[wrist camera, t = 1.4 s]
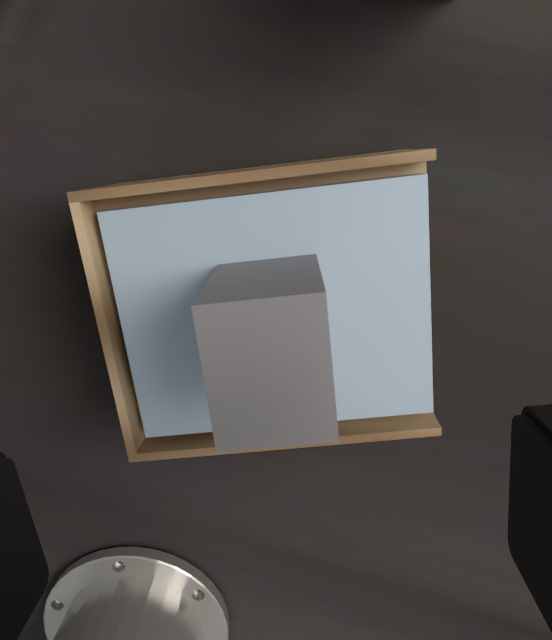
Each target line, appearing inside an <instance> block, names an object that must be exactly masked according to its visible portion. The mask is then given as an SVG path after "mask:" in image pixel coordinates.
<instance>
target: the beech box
mask: <svg viewBox="0 0 552 640" xmlns="http://www.w3.org/2000/svg"><path fill="white" fill-rule="evenodd" d="M430 160H436V148H435V149H408V150H391V151H383V152H375V153H366V154H358V155H350V156H341V157H333V158H325V159H316V160H308V161H299V162H291V163H283V164H274V165H266V166H258V167H249V168H241V169H233V170H224V171H216V172H207V173H199V174H191V175H182V176H174V177H166V178H157V179H149V180H141V181H132V182H125V183H119V184H113V185H107V186H101V187H96V188H90V189H84V190H78V191H72V192H67V197H68V201H69V205H70V210H71V214H72V218H73V223H74V227H75V231H76V236H77V240H78V244H79V248H80V253H81V257H82V261H83V266H84V270H85V274H86V279H87V283H88V287H89V291H90V296H91V300H92V304H93V309H94V313H95V317H96V321H97V326H98V330H99V334H100V339H101V343H102V347H103V352H104V356H105V360H106V364H107V369H108V373H109V377H110V382H111V386H112V390H113V395H114V399H115V403H116V407H117V412H118V416H119V420H120V425H121V429H122V433H123V438H124V442H125V446H126V450H127V455H128V459H129V462H140V461H152V460H164V459H175V458H187V457H199V456H210V455H222V454H234V453H245V452H257V451H269V450H280V449H292V448H304V447H315V446H327V445H339V444H350V443H362V442H373V441H385V440H397V439H408V438H420V437H432V436H442V435H441V426H440V424H439V422H438V421H437V419H436V417H435V415H434V413H433V412H431V413H419V414H408V415H397V416H386V417H374V418H363V419H352V420H340V421H337V422H338V434H339V442H334V443H322V444H310V445H299V446H287V447H275V448H264V449H252V450H241V451H229V452H217V453H216V448H215V443H214V437H213V432H205V433H194V434H182V435H171V436H160V437H149V438H146V437H145V432H144V428H143V423H142V419H141V414H140V409H139V405H138V400H137V396H136V391H135V386H134V382H133V377H132V373H131V368H130V363H129V359H128V354H127V350H126V345H125V340H124V336H123V331H122V327H121V322H120V318H119V313H118V308H117V304H116V299H115V295H114V290H113V285H112V281H111V276H110V272H109V267H108V262H107V258H106V253H105V249H104V244H103V239H102V235H101V230H100V226H99V221H98V216H97V212H100V211H103V210H108V209H117V208H125V207H134V206H142V205H151V204H160V203H168V202H177V201H185V200H194V199H202V198H211V197H220V196H228V195H237V194H245V193H254V192H263V191H271V190H280V189H288V188H297V187H305V186H314V185H323V184H331V183H340V182H348V181H357V180H365V179H374V178H383V177H391V176H400V175H408V174H417V173H425V174H426V161H430Z"/></svg>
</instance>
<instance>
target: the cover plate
mask: <svg viewBox="0 0 552 640" xmlns="http://www.w3.org/2000/svg"><path fill="white" fill-rule="evenodd" d="M97 216H98V221H99V226H100V230H101V235H102V239H103V244H104V249H105V253H106V258H107V262H108V267H109V272H110V276H111V281H112V285H113V290H114V295H115V299H116V304H117V308H118V313H119V318H120V322H121V327H122V331H123V336H124V340H125V345H126V350H127V354H128V359H129V363H130V368H131V373H132V377H133V382H134V386H135V391H136V396H137V400H138V405H139V409H140V414H141V419H142V423H143V428H144V432H145V437H146V438H149V437H160V436H171V435H182V434H194V433H205V432H213V437H214V443H215V448H216V453H217V452H229V451H241V450H252V449H264V448H275V447H287V446H299V445H310V444H322V443H334V442H339V434H338V422H337V421H340V420H352V419H363V418H374V417H386V416H397V415H408V414H419V413H431V412H433V374H432V332H431V291H430V249H429V207H428V174H425V173H417V174H408V175H400V176H391V177H383V178H374V179H365V180H357V181H348V182H340V183H331V184H323V185H314V186H305V187H297V188H288V189H280V190H271V191H263V192H254V193H245V194H237V195H228V196H220V197H211V198H202V199H194V200H185V201H177V202H168V203H160V204H151V205H142V206H134V207H125V208H117V209H108V210H103V211H100V212H97Z"/></svg>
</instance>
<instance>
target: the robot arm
mask: <svg viewBox="0 0 552 640" xmlns="http://www.w3.org/2000/svg"><path fill="white" fill-rule="evenodd" d="M508 544H509V549H510V552H511V555H512V558H513V560H514V562H515V564H516V566H517V567H518V569H519V571H520V573H521V575H522V577H523V579H524V581H525V583H526V585H527V586H528V588H529V590H530V592H531V594H532V596H533V598H534V600H535V602H536V604H537V605H538V607H539V609H540V611H541V613H542V615H543V617H544V619H545V621H546V623H547V624H548V626H549V628H550V630H551V632H552V404H549V405H537V406H525V407H524V408H523V410H522V413H521V415H515V416H514V417H513V419H512V431H511V459H510V486H509V514H508ZM48 576H49V571H48V566H47V562H46V559H45V556H44V553H43V550H42V547H41V544H40V541H39V538H38V535H37V532H36V529H35V526H34V523H33V519H32V516H31V513H30V510H29V507H28V504H27V501H26V498H25V495H24V492H23V489H22V486H21V483H20V479H19V476H18V473H17V470H16V467H15V464H14V462H13V461H12V460H11V459H10V458H8V457H7V458H6V456H5V455H4V454H3V453H2V452H0V640H17V638H18V637H19V635H20V633H21V631H22V630H23V628H24V626H25V624H26V622H27V621H28V619H29V617H30V615H31V613H32V612H33V610H34V608H35V606H36V604H37V603H38V601H39V599H40V597H41V596H42V594H43V592H44V590H45V588H46V586H47V582H48ZM43 621H44V631H45V634H46V637H47V640H228V636H229V624H230V621H229V615H228V610H227V606H226V604H225V602H224V600H223V597H222V595H221V593H220V592H219V591H218V589H217V588H216V586H215V585H214V584H213V582H212V581H211V580H210V579H209V578H208V577H207V576H206V575H204V574H203V573H202V572H201V571H200V570H199V569H197V568H196V567H194V566H193V565H191V564H190V563H188V562H187V561H185V560H183V559H180V558H178V557H176V556H174V555H172V554H169V553H166V552H162V551H158V550H155V549H150V548H142V547H114V548H109V549H104V550H100V551H97V552H94V553H92V554H89V555H87V556H84V557H82V558H81V559H79V560H78V561H76V562H75V563H73V564H71V565H70V566H69V567H68V568H67V569H66V570H65V571H64V572H63V573H62V574H61V575H60V577H59V578H58V580H57V582H56V583H55V585H54V586H53V588H52V590H51V592H50V594H49V596H48V598H47V600H46V603H45V609H44V614H43Z"/></svg>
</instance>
